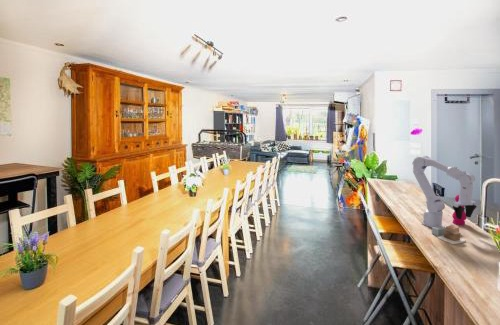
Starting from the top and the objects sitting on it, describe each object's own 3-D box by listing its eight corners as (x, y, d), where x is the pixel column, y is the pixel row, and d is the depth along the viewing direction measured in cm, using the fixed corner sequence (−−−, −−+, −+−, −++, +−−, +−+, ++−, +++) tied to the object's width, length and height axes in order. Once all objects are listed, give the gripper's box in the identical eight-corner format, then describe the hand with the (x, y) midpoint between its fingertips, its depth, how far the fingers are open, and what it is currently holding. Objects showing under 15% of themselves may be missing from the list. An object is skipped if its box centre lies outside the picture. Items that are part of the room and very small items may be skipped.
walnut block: (443, 237, 158) (444, 230, 157) (449, 235, 159) (449, 229, 159) (454, 241, 152) (455, 234, 152) (459, 240, 154) (460, 232, 153)
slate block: (437, 236, 161) (438, 229, 161) (431, 233, 165) (432, 227, 164) (446, 235, 163) (446, 228, 162) (440, 232, 166) (440, 226, 166)
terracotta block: (452, 235, 162) (453, 228, 161) (445, 233, 166) (446, 226, 165) (458, 233, 165) (459, 226, 164) (451, 231, 168) (452, 224, 168)
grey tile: (437, 238, 159) (437, 236, 159) (449, 235, 162) (449, 234, 161) (453, 244, 150) (453, 242, 150) (465, 241, 153) (465, 240, 153)
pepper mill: (452, 220, 185) (454, 190, 182) (466, 223, 180) (468, 192, 177) (451, 223, 179) (453, 192, 176) (465, 226, 175) (468, 194, 172)
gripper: (463, 197, 155) (461, 221, 157) (482, 194, 159) (479, 218, 161) (450, 194, 161) (449, 217, 163) (469, 192, 166) (467, 214, 168)
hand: (463, 217), depth 163 cm, fingers open, 7 cm apart
